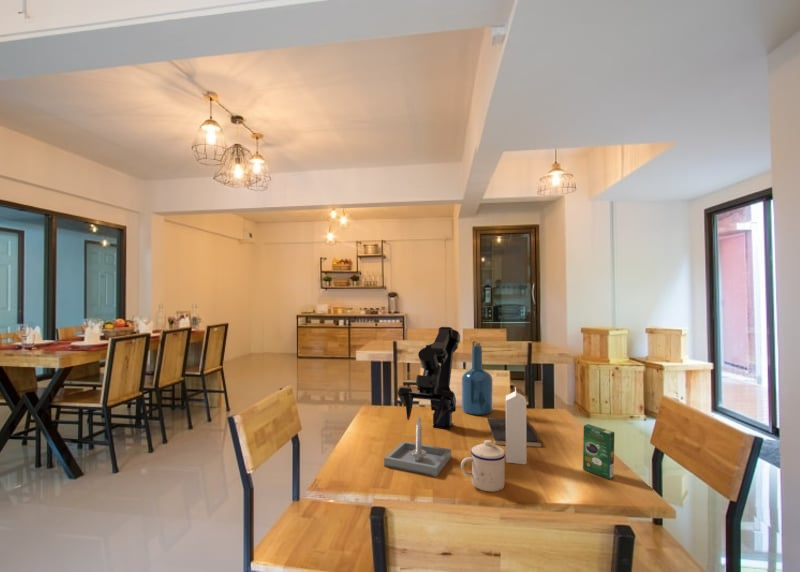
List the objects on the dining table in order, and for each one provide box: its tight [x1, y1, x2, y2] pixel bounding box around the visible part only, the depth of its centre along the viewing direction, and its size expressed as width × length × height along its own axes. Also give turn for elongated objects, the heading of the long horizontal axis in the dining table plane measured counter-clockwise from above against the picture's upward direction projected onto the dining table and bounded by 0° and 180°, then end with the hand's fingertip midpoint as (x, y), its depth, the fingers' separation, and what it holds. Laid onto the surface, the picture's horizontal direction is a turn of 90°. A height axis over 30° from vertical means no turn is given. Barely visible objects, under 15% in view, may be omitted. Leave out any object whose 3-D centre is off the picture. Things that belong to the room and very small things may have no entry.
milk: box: [505, 386, 527, 466], centre depth 122 cm, size 6×6×22 cm
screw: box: [411, 416, 427, 461], centre depth 120 cm, size 13×5×5 cm
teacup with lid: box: [460, 439, 506, 493], centre depth 106 cm, size 12×9×12 cm
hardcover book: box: [486, 417, 543, 448], centre depth 144 cm, size 16×23×2 cm
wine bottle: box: [461, 342, 494, 416], centre depth 171 cm, size 14×13×30 cm
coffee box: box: [582, 423, 616, 481], centre depth 112 cm, size 8×3×13 cm, turn 35°
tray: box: [383, 440, 452, 478], centre depth 120 cm, size 16×14×2 cm
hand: (421, 420), depth 123 cm, fingers open, 9 cm apart
